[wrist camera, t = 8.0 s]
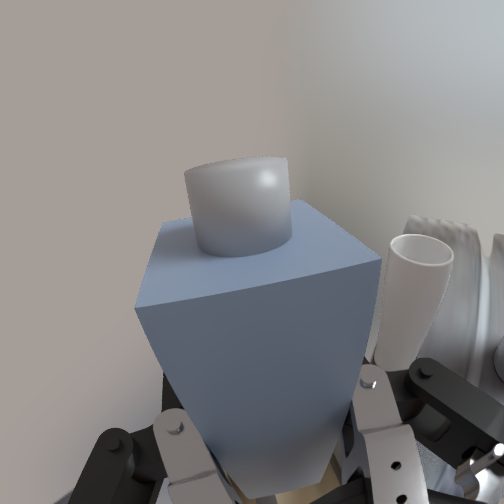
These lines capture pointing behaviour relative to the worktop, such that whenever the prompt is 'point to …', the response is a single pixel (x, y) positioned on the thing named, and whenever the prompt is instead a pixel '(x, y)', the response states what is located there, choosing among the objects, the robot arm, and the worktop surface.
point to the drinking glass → (411, 297)
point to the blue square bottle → (259, 322)
